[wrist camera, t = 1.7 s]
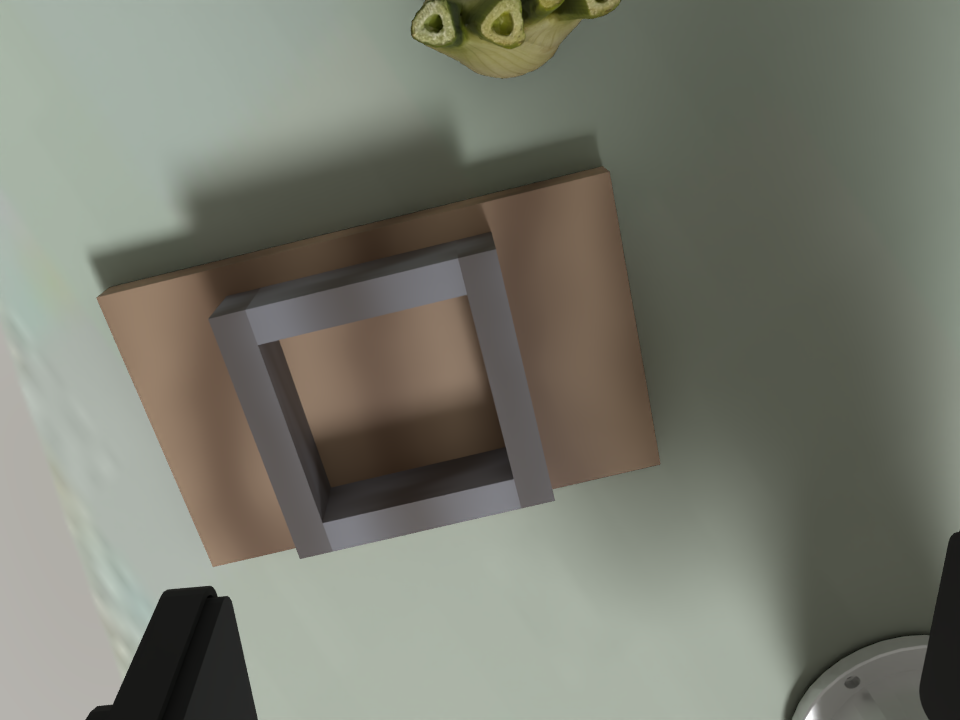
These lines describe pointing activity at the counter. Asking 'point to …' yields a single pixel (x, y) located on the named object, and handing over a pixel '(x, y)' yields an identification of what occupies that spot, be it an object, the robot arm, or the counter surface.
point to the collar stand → (394, 371)
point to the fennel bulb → (502, 31)
